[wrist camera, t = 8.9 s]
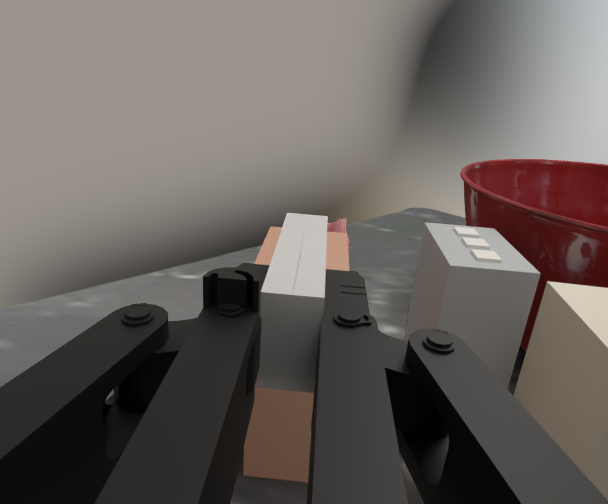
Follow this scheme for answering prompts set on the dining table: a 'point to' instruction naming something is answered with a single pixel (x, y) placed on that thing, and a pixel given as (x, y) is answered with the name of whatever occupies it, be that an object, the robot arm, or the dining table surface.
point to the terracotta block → (285, 399)
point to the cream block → (571, 375)
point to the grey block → (473, 292)
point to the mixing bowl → (544, 218)
